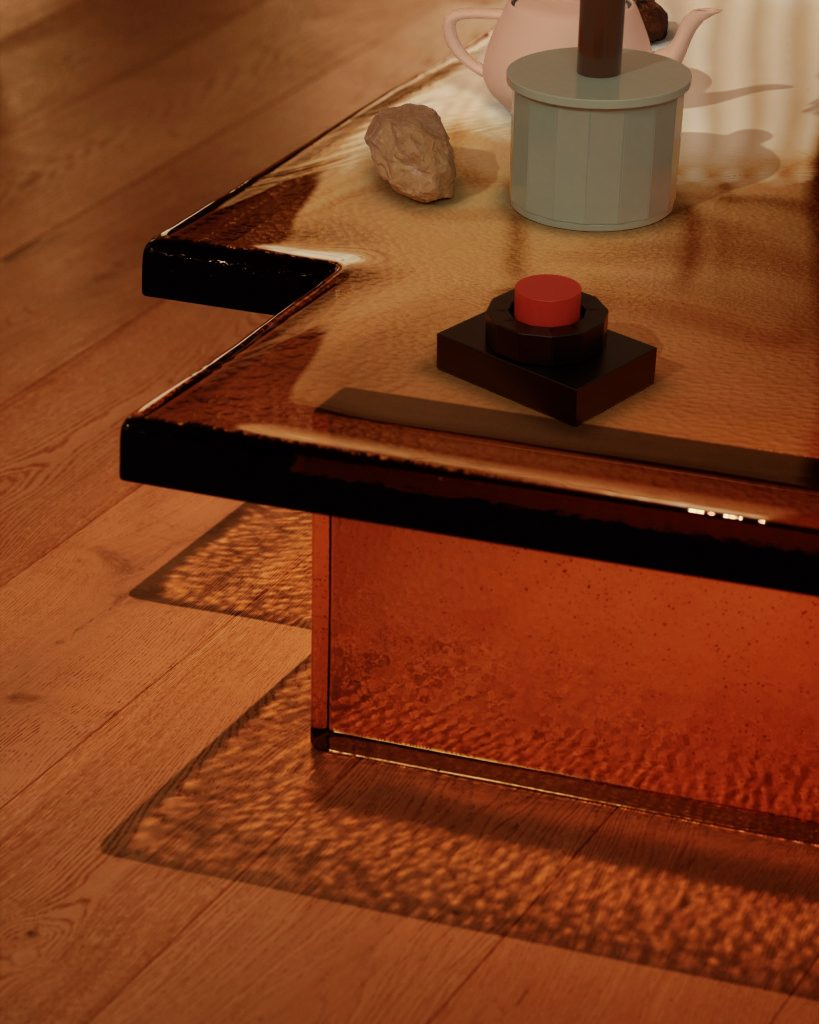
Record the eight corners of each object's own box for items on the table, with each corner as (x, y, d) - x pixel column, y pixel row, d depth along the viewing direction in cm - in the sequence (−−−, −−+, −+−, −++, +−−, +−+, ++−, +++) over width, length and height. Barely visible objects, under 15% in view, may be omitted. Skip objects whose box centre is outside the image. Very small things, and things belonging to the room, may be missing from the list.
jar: (706, 199, 112) (717, 79, 108) (605, 245, 106) (613, 118, 101) (579, 162, 119) (585, 47, 115) (476, 202, 112) (478, 82, 108)
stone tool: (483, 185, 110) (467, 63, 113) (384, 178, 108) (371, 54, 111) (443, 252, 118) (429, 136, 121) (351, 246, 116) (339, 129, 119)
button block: (654, 383, 89) (660, 316, 87) (574, 427, 84) (578, 358, 82) (517, 329, 95) (519, 266, 92) (436, 368, 90) (436, 303, 88)
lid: (727, 88, 108) (737, -14, 105) (613, 131, 101) (620, 23, 97) (583, 53, 116) (588, -43, 112) (467, 91, 108) (469, -11, 105)
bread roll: (687, 42, 145) (683, -14, 143) (569, 67, 144) (564, 11, 142) (647, 16, 155) (643, -37, 152) (537, 39, 154) (531, -14, 151)
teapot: (425, 127, 126) (425, -13, 121) (457, 77, 138) (459, -53, 132) (707, 145, 122) (721, 1, 117) (717, 92, 134) (730, -41, 128)
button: (593, 316, 88) (595, 286, 87) (551, 336, 85) (552, 306, 84) (542, 297, 90) (543, 268, 89) (500, 317, 88) (501, 287, 87)
